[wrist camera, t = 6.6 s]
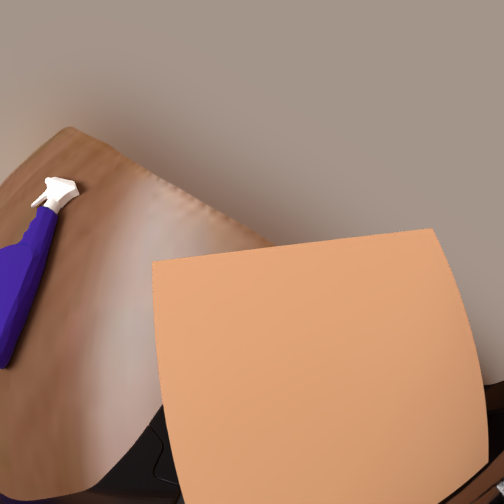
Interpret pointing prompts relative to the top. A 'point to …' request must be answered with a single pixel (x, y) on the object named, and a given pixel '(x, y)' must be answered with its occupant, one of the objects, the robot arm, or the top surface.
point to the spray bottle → (28, 264)
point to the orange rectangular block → (319, 373)
